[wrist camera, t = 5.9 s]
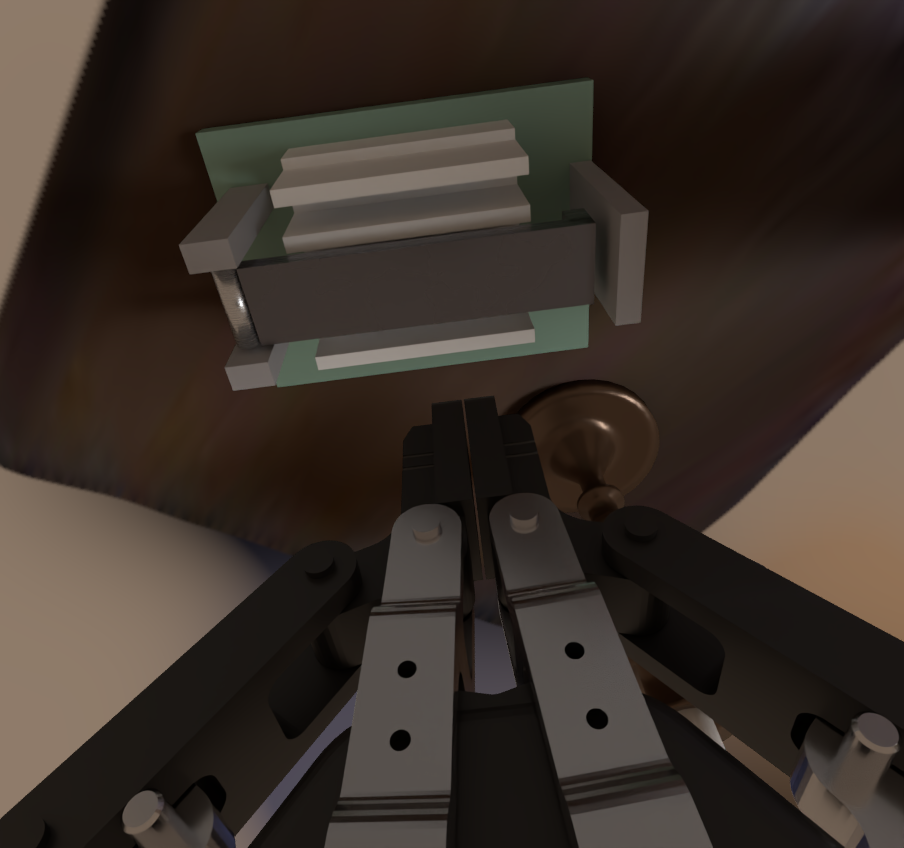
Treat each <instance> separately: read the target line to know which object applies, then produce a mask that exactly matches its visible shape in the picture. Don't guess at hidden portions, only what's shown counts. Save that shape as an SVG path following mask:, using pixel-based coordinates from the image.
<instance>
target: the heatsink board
mask: <svg viewBox="0 0 904 848" xmlns="http://www.w3.org/2000/svg"><path fill="white" fill-rule="evenodd" d="M593 81H594V80H592V79H590V78H588V77H586V78H579V79H571V80H564V81H556V82H549V83H541V84H534V85H527V86H519V87H512V88H504V89H497V90H489V91H482V92H474V93H467V94H459V95H452V96H445V97H437V98H430V99H422V100H415V101H407V102H400V103H392V104H385V105H377V106H370V107H363V108H355V109H348V110H340V111H333V112H325V113H318V114H310V115H303V116H295V117H288V118H281V119H273V120H266V121H258V122H251V123H243V124H236V125H228V126H221V127H213V128H206V129H201V130H200V131H198V132H197V133H195V134H196V137H197V141H198V144H199V147H200V150H201V153H202V156H203V159H204V162H205V165H206V168H207V171H208V174H209V177H210V181H211V184H212V187H213V190H214V193H215V196H216V199H217V203H216V204H215V205H214V206H213V208H212V209H211V210H210V211H209V212H208V213H207V214H206V215H205V216H204V218H203V219H202V220H201V221H200V222H199V223H198V224H197V225H196V226H195V228H194V229H193V230H192V231H191V232H190V233H189V234H188V235H187V236H186V237H185V239H184V240H183V241H182V242H181V243H180V244H179V247H180V250H181V253H182V255H183V258H184V261H185V263H186V266H187V269H188V271H189V274H197V273H205V272H212V271H220V270H227V269H235V268H238V266H239V264H240V263H241V261H246V260H254V259H262V258H269V257H277V256H285V255H293V254H300V253H308V252H316V251H324V250H332V249H339V248H347V247H355V246H363V245H370V244H378V243H386V242H394V241H401V240H409V239H417V238H425V237H433V236H440V235H448V234H456V233H464V232H471V231H479V230H487V229H495V228H502V227H510V226H518V225H526V224H534V223H541V222H549V221H557V220H562V211H565V210H573V209H581V208H584V209H585V210H586V211H587V213H588V214H589V215H590V216H591V218H592V219H593V220H594V221H595V222H596V243H595V282H594V293H595V294H596V296H597V298H598V299H599V301H600V302H601V304H602V305H603V307H604V308H605V310H606V311H607V313H608V315H609V316H610V318H611V319H612V321H613V322H614V324H615V325H616V326H618V325H625V324H633V323H640V321H641V308H642V294H643V281H644V267H645V254H646V240H647V227H648V213H649V211H648V210H647V209H646V208H645V207H644V206H642V205H641V204H640V203H639V202H638V201H637V200H636V199H634V198H633V197H632V196H631V195H630V194H629V193H628V192H626V191H625V190H624V189H623V188H622V187H621V186H620V185H618V184H617V183H616V182H615V181H614V180H613V179H612V178H610V177H609V176H608V175H607V174H606V173H605V172H604V171H602V170H601V169H600V168H599V167H598V166H597V165H596V164H594V163H593V162H592V131H593ZM588 327H589V305H581V306H573V307H566V308H558V309H550V310H542V311H534V312H526V313H518V314H510V315H502V316H494V317H486V318H478V319H470V320H462V321H455V322H447V323H439V324H431V325H423V326H415V327H407V328H399V329H391V330H383V331H375V332H367V333H359V334H352V335H344V336H336V337H328V338H320V339H312V340H304V341H296V342H288V343H280V344H272V345H264V346H261V344H260V345H258V346H256V347H253V348H249V349H240V348H238V347H237V344H236V345H235V347H234V349H233V352H232V354H231V356H230V358H229V360H228V362H227V364H226V366H225V370H226V373H227V375H228V378H229V381H230V383H231V386H232V389H233V391H235V390H243V389H250V388H258V387H266V386H274V385H276V384H277V387H284V386H292V385H300V384H307V383H315V382H323V381H331V380H338V379H346V378H354V377H361V376H369V375H377V374H385V373H392V372H400V371H408V370H415V369H423V368H431V367H439V366H446V365H454V364H462V363H469V362H477V361H485V360H493V359H500V358H508V357H516V356H523V355H531V354H539V353H546V352H554V351H562V350H570V349H577V348H585V347H588Z"/></svg>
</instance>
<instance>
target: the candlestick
mask: <svg viewBox="0 0 904 848" xmlns="http://www.w3.org/2000/svg"><path fill="white" fill-rule="evenodd" d="M517 414H519V415H520V416H522V417H523V418H524V419H525V420H526V421H527V422H528V423H529V424H530V425H531V428H532V432H533V436H534V440H535V443H536V447H537V451H538V454H539V458H540V462H541V466H542V469H543V473H544V477H545V481H546V484H547V488H548V492H549V495H550V498H551V500H552V502H553V503H554V504H555V505H556V506H557V508H558V509H559V510H561V511H562V512H565V513H571V512H579V514H580V516H581V517H582V518H583V519H584V520H588V521H596V522H603V523H604V520H605V519H606V517H607V516H608V515H609V514H610V513H612V512H613V511H615V510H617V509H619V508H623V507H624V503H625V502H624V497H623V496H625V495H626V494H627V493H629V492H630V491H632V490H633V489H634V488H635V487H636V486H637V485H638V484H639V483H640V482H641V481H642V480H643V479H644V478H645V477H646V475H647V474H648V472H649V471H650V470H651V468H652V466H653V464H654V462H655V459H656V457H657V453H658V449H659V430H658V427H657V424H656V421H655V419H654V417H653V416H652V414H651V412H650V411H649V409H648V407H647V406H646V404H645V403H644V401H643V400H642V399H641V398H640V397H639V396H637V395H636V394H635V393H634V392H632V391H631V390H629V389H627V388H625V387H624V386H621V385H618V384H615V383H612V382H609V381H601V380H578V381H573V382H569V383H564V384H561V385H558V386H556V387H553V388H551V389H548V390H546V391H544V392H543V393H541V394H539V395H538V396H536V397H534V398H533V399H532V400H530V401H529V402H528V403H527V404H526V405H525V406H523V407H522V408H521V409H520V410H519V412H518V413H517ZM750 560H751V559H750ZM752 561H753V560H752ZM754 562H755V561H754ZM756 563H757V562H756ZM758 564H759V563H758ZM762 566H763V565H762ZM763 567H764V566H763ZM626 656H627V655H626ZM627 658H628V660H629V663H630V665H631V668H632V670H633V673H634V675H635V677H636V680H637V682H638V685H639V687H640V690H641V692H642V693H644V694H646V695H649V696H651V697H653V698H655V699H657V700H659V701H661V702H663V703H665V704H666V705H668V706H670V707H671V708H673V709H674V710H676V711H677V712H679V713H680V714H682V715H683V716H684V717H686V718H687V719H688V720H689V721H691V722H692V723H693V724H694V725H695V726H697V727H698V728H699V729H700V730H702V731H703V732H704V733H705V734H706V735H708V736H709V737H710V738H711V739H713V740H714V741H715V742H716V743H718V744H719V745H720V746H721V747H722V748H724V749H725V747H724V745H723V741H724V740H726V739H727V738H729V737H730V736H731V735H732V734H731V733H730V732H729V731H727V730H726V729H725V728H723V727H722V726H721V725H719V724H718V723H716V722H715V721H714V720H712V719H711V718H710V717H708V716H707V715H706V714H704V713H703V712H702V711H700V710H699V709H698V708H696V707H695V706H694V705H692V704H691V703H690V702H688V701H687V700H686V699H684V698H683V697H682V696H680V695H679V694H678V693H676V692H675V691H674V690H672V689H671V688H670V687H668V686H667V685H666V684H664V683H663V682H662V681H660V680H659V679H658V678H656V677H655V676H653V675H652V674H651V673H649V672H648V671H647V670H645V669H644V668H643V667H641V666H640V665H639V664H637V663H636V662H635V661H633V660H632V659H631V658H629V657H628V656H627ZM725 750H726V749H725Z"/></svg>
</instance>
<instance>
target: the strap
mask: <svg viewBox="0 0 904 848" xmlns="http://www.w3.org/2000/svg"><path fill="white" fill-rule="evenodd" d="M595 243H596V222H595V221H594V220H593V219H592V218H591V216H590V215H589V214H588V213H587V211H586V210H585V209H584V208H581V209H573V210H565V211H562V220H557V221H549V222H541V223H534V224H526V225H518V226H510V227H502V228H495V229H487V230H479V231H471V232H464V233H456V234H448V235H440V236H433V237H425V238H417V239H409V240H401V241H394V242H386V243H378V244H370V245H363V246H355V247H347V248H339V249H332V250H324V251H316V252H308V253H300V254H293V255H285V256H277V257H269V258H262V259H254V260H246V261H241V263H240V264H239V266H238V268H235V269H227V270H220V271H212V272H211V273H212V276H213V279H214V282H215V285H216V288H217V290H218V293H219V296H220V299H221V302H222V305H223V307H224V310H225V313H226V316H227V319H228V321H229V324H230V327H231V330H232V333H233V336H234V338H235V341H236V344H237V347H238V348H240V349H249V348H253V347H256V346H258V345H260V344H261V346H264V345H272V344H280V343H288V342H296V341H304V340H312V339H320V338H328V337H336V336H344V335H352V334H359V333H367V332H375V331H383V330H391V329H399V328H407V327H415V326H423V325H431V324H439V323H447V322H455V321H462V320H470V319H478V318H486V317H494V316H502V315H510V314H518V313H526V312H534V311H542V310H550V309H558V308H566V307H573V306H581V305H589V304H594V282H595Z"/></svg>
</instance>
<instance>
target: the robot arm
mask: <svg viewBox="0 0 904 848" xmlns="http://www.w3.org/2000/svg"><path fill="white" fill-rule="evenodd" d="M464 402H465V411H466V419H467V427H468V435H469V444H470V452H471V460H472V469H473V477H474V485H475V494H476V502H477V510H478V518H479V526H480V534H481V542H482V550H483V559H484V567H485V575H486V579H493V578H495V580H496V587H497V594H498V603H499V612H500V616H501V621H502V625H503V629H504V634H505V638H506V642H507V647H508V651H509V655H510V660H511V664H512V669H513V673H514V677H515V682H516V686H517V687H516V688H513V689H510V690H508V691H505V692H502V693H499V694H494V695H491V694H482V693H475V648H474V647H475V637H474V636H475V635H474V634H475V631H474V607H473V606H474V602H475V590H474V581H477V580H483V576H482V567H481V558H480V550H479V541H478V532H477V524H476V515H475V506H474V498H473V489H472V480H471V472H470V463H469V455H468V447H467V439H466V431H465V424H464V416H463V408H462V400H456V401H448V402H439V403H432V424H430V425H422V426H414V427H412V428H411V430H410V431H409V433H408V434H407V436H406V437H405V439H404V440H403V471H402V504H401V516H400V517H398V519H397V520H396V521H395V523H394V525H393V529H392V533H391V534H390V535H389V536H388V537H386V538H385V539H384V540H382V541H380V542H379V543H377V544H374V545H372V546H370V547H367V548H364V549H362V550H359V551H356V552H354V551H353V550H352V549H351V548H350V547H349V546H348V545H346V544H344V543H342V542H338V541H321V542H317V543H314V544H311V545H309V546H307V547H305V548H303V549H302V550H300V551H299V552H297V553H296V554H295V555H294V556H293V557H292V558H291V559H289V560H288V561H287V562H286V563H285V564H284V565H283V566H282V567H281V568H279V569H278V570H277V571H276V572H275V573H274V574H273V575H272V576H270V577H269V578H268V579H267V580H266V581H265V582H264V583H263V584H262V585H260V586H259V587H258V588H257V589H256V590H255V591H254V592H253V593H252V594H250V595H249V596H248V597H247V598H246V599H245V600H244V601H243V602H242V603H240V604H239V605H238V606H237V607H236V608H235V609H234V610H233V611H231V612H230V613H229V614H228V615H227V616H226V617H225V618H224V619H223V620H221V621H220V622H219V623H218V624H217V625H216V626H215V627H214V628H212V629H211V630H210V631H209V632H208V633H207V634H206V635H205V636H204V637H202V638H201V639H200V640H199V641H198V642H197V643H196V644H195V645H193V646H192V647H191V648H190V649H189V650H188V651H187V652H186V653H185V654H183V655H182V656H181V657H180V658H179V659H178V660H177V661H176V662H175V663H173V664H172V665H171V666H170V667H169V668H168V669H167V670H166V671H165V672H164V673H162V674H161V675H160V676H159V677H158V678H157V679H156V680H154V681H153V682H152V683H151V684H150V685H149V686H148V687H147V688H146V689H144V690H143V691H142V692H141V693H140V694H139V695H138V696H137V697H135V698H134V699H133V700H132V701H131V702H130V703H129V704H128V705H127V706H125V707H124V708H123V709H122V710H121V711H120V712H119V713H118V714H117V715H115V716H114V717H113V718H112V719H111V720H110V721H109V722H108V723H107V724H105V725H104V726H103V727H102V728H101V729H100V730H99V731H98V732H96V733H95V734H94V735H93V736H92V737H91V738H90V739H89V740H88V741H86V742H85V743H84V744H83V745H82V746H81V747H80V748H79V749H78V750H77V751H75V752H74V753H73V754H72V755H71V756H70V757H69V758H68V759H67V760H65V761H64V762H63V763H62V764H61V765H60V766H59V767H57V768H56V769H55V770H54V771H53V772H52V773H51V774H50V775H49V776H47V777H46V778H45V779H44V780H43V781H42V782H41V783H40V784H39V785H37V786H36V787H35V788H34V789H33V790H32V791H31V792H30V793H29V794H27V795H26V796H25V797H24V798H23V799H22V800H21V801H20V802H18V804H16V805H15V806H14V807H13V808H12V809H11V810H10V811H8V812H7V813H6V814H5V815H4V816H3V817H2V818H1V819H0V848H236V844H235V836H236V834H237V833H238V832H239V831H240V829H241V828H242V827H243V826H244V825H245V824H246V823H247V821H248V820H249V819H250V818H251V817H252V815H253V814H254V813H255V812H256V810H257V809H258V808H259V807H260V806H261V805H262V803H263V802H264V801H265V800H266V799H267V797H268V796H269V795H270V794H271V793H272V792H273V790H274V789H275V788H276V787H277V786H278V784H279V783H280V782H281V781H282V780H283V778H284V777H285V776H286V775H287V774H288V772H289V771H290V770H291V769H292V768H293V766H294V765H295V764H296V763H297V762H298V761H299V759H300V758H301V757H302V756H303V755H304V753H305V752H306V751H307V750H308V749H309V747H310V746H311V745H312V744H313V743H314V742H315V740H316V739H317V738H318V736H319V735H320V734H321V733H322V732H323V731H324V730H325V728H326V727H327V726H328V725H329V724H330V722H331V721H332V720H333V719H334V718H335V716H336V715H337V714H338V713H339V712H340V711H341V709H342V708H343V707H344V705H346V703H347V702H348V701H349V700H350V699H351V697H352V696H353V695H354V693H356V691H357V690H358V691H357V697H356V703H355V709H354V716H353V721H352V726H351V727H349V728H348V729H346V730H345V731H344V732H342V733H341V734H340V735H339V736H338V737H337V738H335V739H334V740H333V741H332V742H331V743H330V744H329V745H328V746H327V747H326V748H325V749H324V750H323V751H322V753H321V754H320V755H319V756H318V758H317V759H316V760H315V761H314V763H313V764H312V765H311V767H310V768H309V769H308V771H307V772H306V773H305V774H304V776H303V777H302V778H301V780H300V781H299V782H298V784H297V785H296V786H295V787H294V789H293V790H292V791H291V792H290V794H289V795H288V796H287V798H286V799H285V800H284V801H283V803H282V804H281V805H280V807H279V808H278V809H277V811H276V812H275V813H274V814H273V816H272V817H271V818H270V820H269V821H268V822H267V823H266V825H265V826H264V827H263V829H262V830H261V831H260V833H259V834H258V835H257V836H256V838H255V839H254V840H253V842H252V843H251V844H250V845H249V847H248V848H904V642H903V641H901V640H899V639H898V638H896V637H894V636H892V635H890V634H888V633H886V632H884V631H883V630H881V629H879V628H877V627H875V626H873V625H872V624H870V623H868V622H866V621H864V620H862V619H860V618H858V617H857V616H855V615H853V614H851V613H849V612H847V611H845V610H844V609H842V608H840V607H838V606H836V605H834V604H832V603H830V602H829V601H827V600H825V599H823V598H821V597H819V596H817V595H815V594H814V593H812V592H810V591H808V590H806V589H804V588H803V587H801V586H798V585H797V584H795V583H793V582H791V581H790V580H788V579H786V578H784V577H782V576H780V575H778V574H776V573H775V572H773V571H771V570H769V569H767V568H765V567H763V566H762V565H760V564H758V563H756V562H754V561H752V560H750V559H748V558H746V557H745V556H743V555H741V554H739V553H737V552H736V551H734V550H732V549H730V548H728V547H726V546H724V545H722V544H721V543H719V542H717V541H715V540H713V539H711V538H709V537H707V536H706V535H704V534H702V533H700V532H698V531H696V530H695V529H693V528H691V527H689V526H687V525H685V524H683V523H681V522H680V521H678V520H676V519H674V518H672V517H670V516H668V515H667V514H665V513H663V512H661V511H659V510H656V509H653V508H650V507H645V506H627V507H623V508H619V509H617V510H615V511H613V512H612V513H610V514H609V515H608V516H607V517H606V519H605V520H604V523H603V522H596V521H588V520H582V519H578V518H574V517H572V516H569V515H567V514H565V513H564V512H562V511H561V510H559V509H558V508H557V506H556V505H555V504H554V503H553V502H552V500H551V498H550V495H549V492H548V488H547V484H546V481H545V477H544V473H543V469H542V466H541V462H540V458H539V454H538V451H537V447H536V443H535V440H534V436H533V432H532V428H531V425H530V424H529V423H528V422H527V421H526V420H525V419H524V418H523V417H522V416H520V415H519V414H511V415H503V416H498V413H497V408H496V403H495V398H494V396H487V397H479V398H471V399H464ZM626 655H627V656H628V657H629V658H631V659H632V660H633V661H635V662H636V663H637V664H639V665H640V666H641V667H643V668H644V669H645V670H647V671H648V672H649V673H651V674H652V675H653V676H655V677H656V678H658V679H659V680H660V681H662V682H663V683H664V684H666V685H667V686H668V687H670V688H671V689H672V690H674V691H675V692H676V693H678V694H679V695H680V696H682V697H683V698H684V699H686V700H687V701H688V702H690V703H691V704H692V705H694V706H695V707H696V708H698V709H699V710H700V711H702V712H703V713H704V714H706V715H707V716H708V717H710V718H711V719H712V720H714V721H715V722H716V723H718V724H719V725H721V726H722V727H723V728H725V729H726V730H727V731H729V732H730V733H731V734H733V735H734V736H735V737H737V738H738V739H739V740H741V741H742V742H743V743H745V744H746V745H747V746H749V747H750V748H751V749H753V750H754V751H755V752H757V753H758V754H759V755H761V756H762V757H763V758H765V759H766V760H768V761H769V762H770V763H771V764H773V765H774V766H775V767H777V768H778V769H780V770H781V771H782V772H784V773H785V774H786V775H788V776H789V777H790V785H791V791H792V794H793V797H794V799H795V801H796V803H797V805H798V807H799V809H800V810H801V811H800V810H799V809H797V808H796V807H795V806H794V805H792V804H791V803H790V802H788V801H787V800H786V799H785V798H784V797H783V796H781V795H780V794H779V793H778V792H776V791H775V790H774V789H773V788H772V787H770V786H769V785H768V784H767V783H765V782H764V781H763V780H762V779H760V778H759V777H758V776H757V775H756V774H754V773H753V772H752V771H751V770H749V769H748V768H747V767H746V766H745V765H743V764H742V763H741V762H740V761H738V760H737V759H736V758H735V757H733V756H732V755H731V754H730V753H728V752H727V751H726V750H725V749H724V748H722V747H721V746H720V745H719V744H718V743H716V742H715V741H714V740H713V739H711V738H710V737H709V736H708V735H706V734H705V733H704V732H703V731H702V730H700V729H699V728H698V727H697V726H695V725H694V724H693V723H692V722H691V721H689V720H688V719H687V718H686V717H684V716H683V715H682V714H680V713H679V712H677V711H676V710H674V709H673V708H671V707H670V706H668V705H666V704H665V703H663V702H661V701H659V700H657V699H655V698H653V697H651V696H649V695H646V694H644V693H642V692H641V690H640V687H639V685H638V682H637V680H636V677H635V675H634V673H633V670H632V668H631V665H630V663H629V660H628V658H627V656H626Z"/></svg>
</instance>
